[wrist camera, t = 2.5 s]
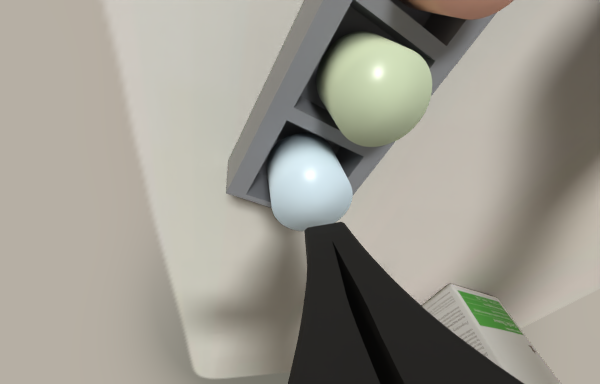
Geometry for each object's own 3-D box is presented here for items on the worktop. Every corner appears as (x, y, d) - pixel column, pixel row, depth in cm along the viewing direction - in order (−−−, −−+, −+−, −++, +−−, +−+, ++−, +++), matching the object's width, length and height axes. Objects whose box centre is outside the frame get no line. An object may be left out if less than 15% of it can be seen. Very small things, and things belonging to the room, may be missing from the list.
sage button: (411, 59, 12) (452, 79, 10) (363, 128, 14) (388, 159, 11) (347, 12, 11) (376, 23, 8) (301, 95, 12) (315, 124, 10)
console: (642, -266, 9) (789, -354, 7) (317, 193, 18) (329, 227, 16) (549, -517, 7) (727, -800, 4) (228, 160, 16) (225, 194, 13)
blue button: (347, 149, 14) (368, 184, 12) (312, 200, 16) (324, 238, 14) (287, 121, 13) (297, 153, 11) (254, 179, 15) (257, 219, 12)
